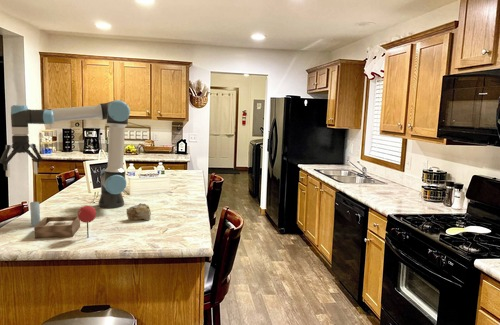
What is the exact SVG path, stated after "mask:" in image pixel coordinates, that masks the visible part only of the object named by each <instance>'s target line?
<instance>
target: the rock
mask: <svg viewBox="0 0 500 325" xmlns="http://www.w3.org/2000/svg"><path fill="white" fill-rule="evenodd" d="M151 215H152V211H151V208H150V207H149V205H148V204H146V203H141V202H140V203H139V204H136V205H132V206H130V207H129V208H126V217H127V218H128V220H131V221H140V220H144V221H150V220H151Z"/></svg>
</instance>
